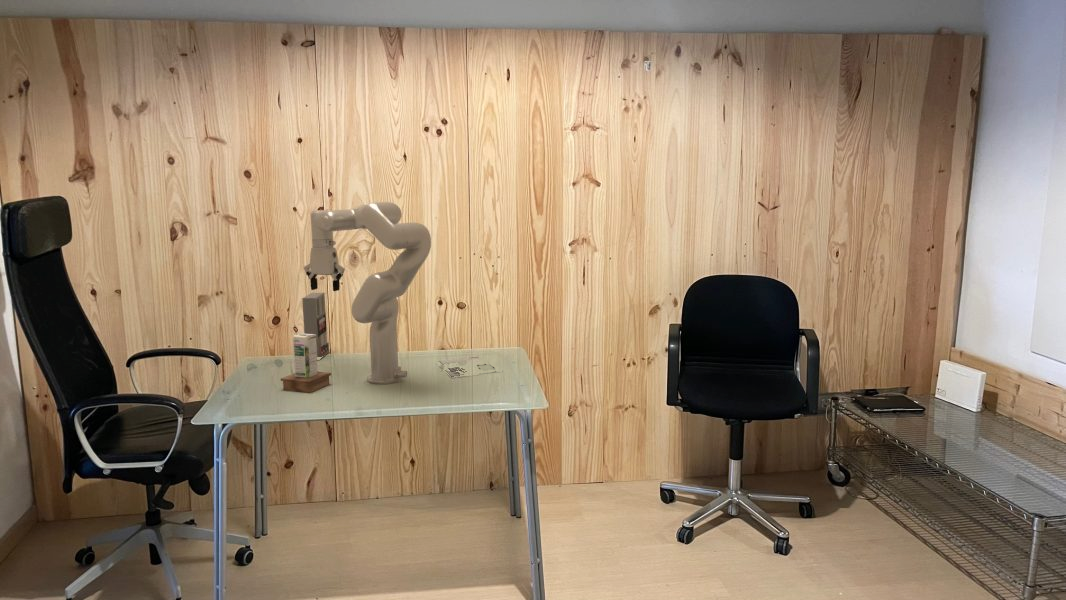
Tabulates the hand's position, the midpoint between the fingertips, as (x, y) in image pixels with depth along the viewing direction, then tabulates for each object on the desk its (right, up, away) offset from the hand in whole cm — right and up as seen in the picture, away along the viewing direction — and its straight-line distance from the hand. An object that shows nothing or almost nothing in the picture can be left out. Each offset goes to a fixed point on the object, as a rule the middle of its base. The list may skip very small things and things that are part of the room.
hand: (325, 290), depth 287 cm
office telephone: (+53, -30, +5) cm, 61 cm away
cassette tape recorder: (-10, -27, +26) cm, 38 cm away
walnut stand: (-1, -34, -19) cm, 39 cm away
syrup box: (-1, -30, -19) cm, 36 cm away
